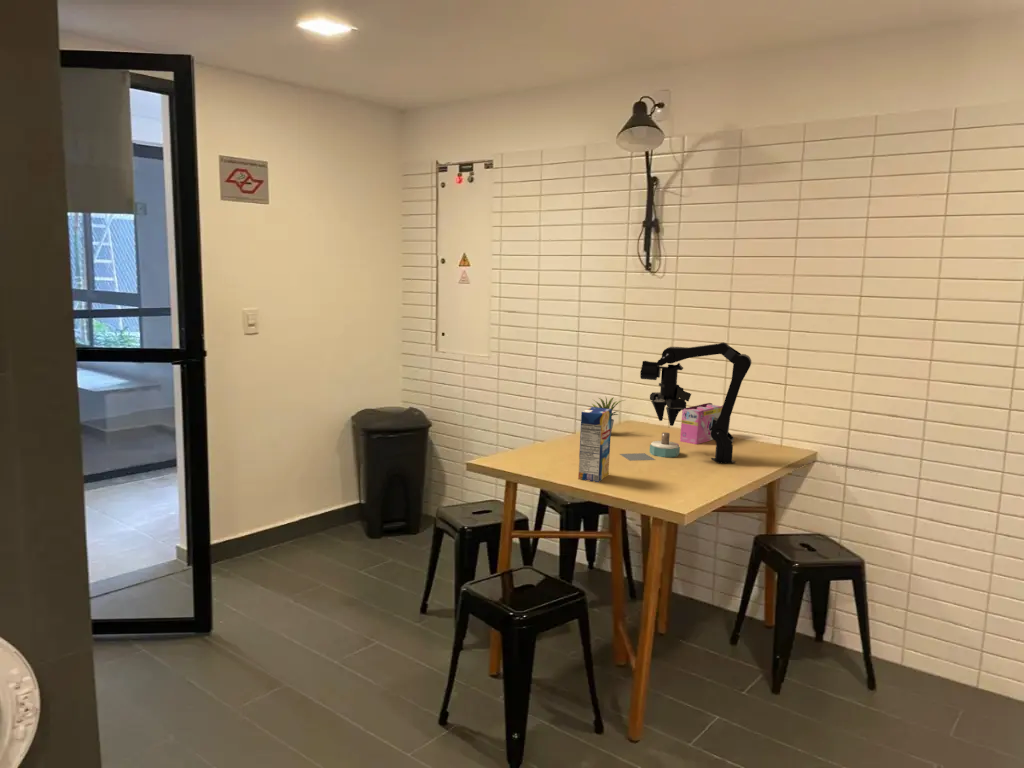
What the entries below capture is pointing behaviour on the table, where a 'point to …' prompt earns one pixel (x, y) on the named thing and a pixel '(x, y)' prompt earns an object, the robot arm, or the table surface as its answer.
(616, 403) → the house plant
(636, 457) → the mat
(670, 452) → the bowl
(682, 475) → the table surface
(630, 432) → the table surface
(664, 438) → the lid
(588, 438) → the beverage box
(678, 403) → the robot arm
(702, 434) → the gum box
